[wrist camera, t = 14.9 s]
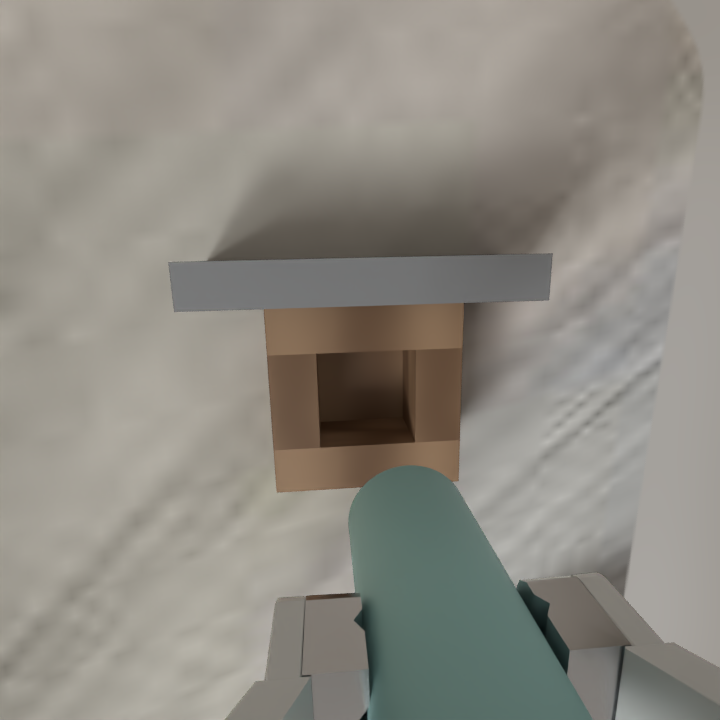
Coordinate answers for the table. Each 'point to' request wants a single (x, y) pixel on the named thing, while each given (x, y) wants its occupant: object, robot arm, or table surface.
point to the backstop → (358, 281)
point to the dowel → (445, 611)
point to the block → (363, 392)
